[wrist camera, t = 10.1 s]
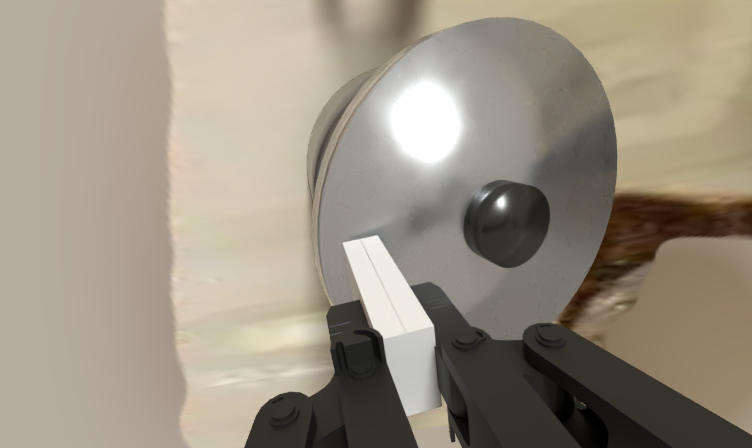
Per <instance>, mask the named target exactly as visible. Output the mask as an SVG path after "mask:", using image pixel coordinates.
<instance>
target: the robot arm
mask: <svg viewBox="0 0 752 448" xmlns="http://www.w3.org/2000/svg"><path fill="white" fill-rule="evenodd" d="M343 249H344V254H345V259H346V265H347V270H348V276H349V281H350V286H351V292H352V297H353V301H351V302H347V303H343V304H339V305H335V306H331V307H330V310H329V312H328V314H327V316H326V317H327V322H328V328H329V334H330V339H331V349H330V351H331V355H332V360H333V364H334V369H335V373H334V376H333V378H332V380H331V381H330V383H329V384H328V385H327V386H326V387H325V388H323V389H322V390H320V391H319V392H318V393H316V394H314V395H312V396H310V397H309V398H308V396H306V395H304V394H302V393H300V392H287V393H283V394H279V395H278V396H276V397H274V398H272V399H270V400H269V401H268V402H267V403H266V404H264V405H263V406H262V407H261V409H260V410H259V412H258V414H257V415H256V418H255V420H254V423H253V426H252V428H251V431H250V434H249V436H248V439H247V442H246V444H245V447H244V448H418V446H417V443H416V440H415V438H414V435H413V432H412V429H411V427H410V424H409V421H408V419H407V416H411V415H414V414H417V413H421V412H424V411H428V410H431V409H434V408H438V407H441V406H442V401H441V394H442V396H443V398H444V400H445V402H446V404H447V410H448V421H449V430H450V431H449V432H450V438H451V442H455V434H456V436H457V438H458V440H459V442H460V444H461V446H462V448H752V435H751V434H749V433H747V432H745V431H744V430H742V429H740V428H739V427H737V426H735V425H733V424H731V423H730V422H728V421H726V420H725V419H723V418H721V417H720V416H718V415H716V414H714V413H713V412H711V411H709V410H708V409H706V408H704V407H702V406H701V405H699V404H697V403H695V402H693V401H692V400H690V399H689V398H687V397H685V396H683V395H682V394H680V393H678V392H677V391H675V390H673V389H671V388H670V387H668V386H666V385H664V384H663V383H661V382H659V381H658V380H656V379H654V378H652V377H651V376H649V375H647V374H646V373H644V372H642V371H640V370H639V369H637V368H635V367H633V366H631V365H630V364H628V363H626V362H625V361H623V360H621V359H620V358H618V357H616V356H614V355H612V354H611V353H609V352H608V351H606V350H604V349H602V348H601V347H599V346H597V345H596V344H594V343H592V342H590V341H589V340H587V339H585V338H583V337H582V336H580V335H578V334H577V333H575V332H573V331H571V330H570V329H568V328H565V327H563V326H561V325H558V324H552V323H537V324H534V325H530V326H529V327H528V328H526V329H525V330H524V333H523V336H522V340H495V339H492V338H491V337H490V335H489V334H487V333H486V332H485V331H484V330H482V329H479V328H476V327H472V326H470V325H469V324H468V322H467V321H466V320H465V318H464V317H463V316H462V314H461V313H460V312H459V311H458V309H457V308H456V307H455V305H454V304H452V302H451V300H450V299H449V298H448V297H447V295H446V294H445V293H444V291H443V290H442V289H441V287H439V286H437V285H435V284H433V283H431V282H426V283H422V284H418V285H413V286H409V285H408V283H407V282H406V280H405V279H404V277H403V275H402V274H401V272H400V270H399V269H398V267H397V266H396V264H395V262H394V261H393V259H392V258H391V256H390V254H389V253H388V251H387V250H386V248H385V246H384V245H383V243H382V241H381V240H380V238H379V237H378V235H376V236H372V237H367V238H362V239H358V240H353V241H348V242H344V243H343ZM576 398H577V399H578V400H579V401H581V402H582V403H583V404H585V405H586V406H585V405H583V404H581V403H580V402H578V401H577V400H576Z"/></svg>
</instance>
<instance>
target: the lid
mask: <svg viewBox="0 0 752 448" xmlns="http://www.w3.org/2000/svg"><path fill="white" fill-rule="evenodd" d="M616 176H617V142H616V133H615V126H614V120H613V116H612V112H611V108H610V105H609V101H608V98H607V96H606V93H605V91H604V88H603V86H602V83H601V81H600V80H599V78H598V76H597V74H596V73H595V71H594V69H593V67H592V66H591V64H590V63H589V62H588V61H587V59H586V58H585V57H584V55H583V54H582V53H581V52H580V51H579V50H578V49H577V48H576V47H575V46H574V45H573V44H572V43H571V42H569V41H568V40H567V39H566V38H565V37H563V36H561V35H560V34H558V33H557V32H555V31H553V30H552V29H550V28H548V27H545V26H543V25H540V24H538V23H535V22H533V21H528V20H522V19H517V18H486V19H481V20H476V21H471V22H466V23H463V24H460V25H456V26H453V27H449V28H446V29H443V30H440V31H438V32H435V33H433V34H430V35H427V36H425V37H423V38H421V39H419V40H417V41H416V42H414V43H412V44H411V45H409V46H407V47H405V48H404V49H402V50H401V51H399V52H398V53H397V54H396V55H394V56H393V57H392V58H391V59H389V60H388V61H387V62H386V63H384V64H383V65H382V66H381V67H380V68H379V69H378V70H377V71H376V72H375V73H374V74H373V75H372V76H371V77H370V79H369V80H368V81H367V82H366V83H365V84H364V85H363V86H362V87H361V89H360V90H359V92H358V93H357V94H356V96H355V97H354V98H353V100H352V101H351V103H350V104H349V105H348V107H347V108H346V110H345V112H344V114H343V115H342V117H341V119H340V121H339V123H338V125H337V126H336V128H335V130H334V132H333V134H332V136H331V139H330V141H329V144H328V147H327V149H326V152H325V154H324V157H323V159H322V163H321V167H320V171H319V175H318V179H317V182H316V186H315V193H314V202H313V210H312V243H313V250H314V257H315V264H316V268H317V271H318V275H319V278H320V281H321V285H322V288H323V290H324V292H325V294H326V296H327V298H328V300H329V303H330V305H331V306H335V305H339V304H343V303H347V302H351V301H353V297H352V292H351V286H350V281H349V276H348V270H347V265H346V259H345V254H344V249H343V243H344V242H348V241H353V240H358V239H362V238H367V237H372V236H376V235H378V237H379V238H380V240H381V241H382V243H383V245H384V246H385V248H386V250H387V251H388V253H389V254H390V256H391V258H392V259H393V261H394V262H395V264H396V266H397V267H398V269H399V270H400V272H401V274H402V275H403V277H404V279H405V280H406V282H407V283H408V285H409V286H413V285H418V284H422V283H426V282H431V283H433V284H435V285H437V286H439V287H441V289H442V290H443V291H444V293H445V294H446V295H447V297H448V298H449V299H450V300H451V302H452V304H454V305H455V307H456V308H457V309H458V311H459V312H460V313H461V314H462V316H463V317H464V318H465V320H466V321H467V322H468V324H469V325H470V326H472V327H476V328H479V329H482V330H484V331H485V332H486V333H487V334H489V335H490V337H491V338H492V339H495V340H522V336H523V333H524V330H525V329H526V328H528V327H529V326H530V325H534V324H537V323H552V322H553V321H554V320H555V319H556V318H557V317H558V315H559V314H560V313H561V312H562V311H563V309H564V308H565V307H566V306H567V304H568V303H569V302H570V300H571V299H572V297H573V296H574V294H575V293H576V291H577V290H578V288H579V287H580V285H581V283H582V282H583V280H584V278H585V276H586V275H587V273H588V271H589V269H590V267H591V265H592V263H593V261H594V259H595V257H596V255H597V252H598V250H599V247H600V244H601V242H602V239H603V237H604V234H605V231H606V227H607V224H608V221H609V217H610V213H611V208H612V204H613V199H614V193H615V185H616Z"/></svg>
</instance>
